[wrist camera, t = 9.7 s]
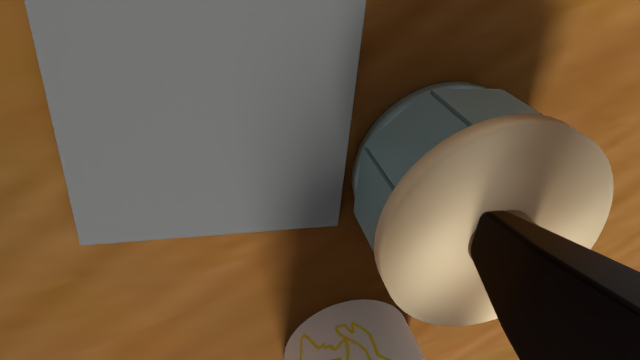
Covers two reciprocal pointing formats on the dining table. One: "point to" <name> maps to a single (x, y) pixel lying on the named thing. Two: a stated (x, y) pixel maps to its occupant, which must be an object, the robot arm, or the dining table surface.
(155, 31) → the mat
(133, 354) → the dining table surface
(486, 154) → the lid
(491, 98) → the grooved blue cylinder
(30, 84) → the dining table surface
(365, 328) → the white cylinder
